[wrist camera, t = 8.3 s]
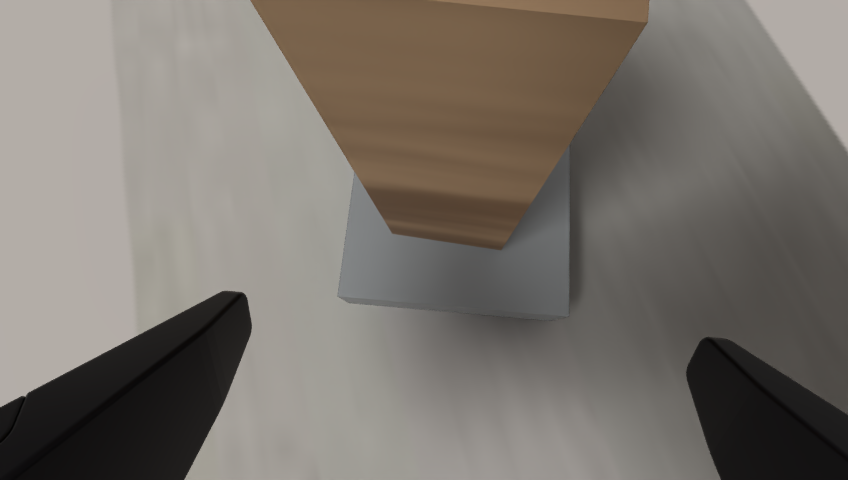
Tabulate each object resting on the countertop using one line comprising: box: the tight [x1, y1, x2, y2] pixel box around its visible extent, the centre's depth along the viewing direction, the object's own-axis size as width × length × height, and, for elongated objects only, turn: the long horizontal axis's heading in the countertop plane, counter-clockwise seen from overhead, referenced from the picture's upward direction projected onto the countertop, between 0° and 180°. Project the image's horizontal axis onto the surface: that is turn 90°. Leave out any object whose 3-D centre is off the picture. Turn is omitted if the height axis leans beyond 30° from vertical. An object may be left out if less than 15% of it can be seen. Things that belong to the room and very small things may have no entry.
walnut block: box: [251, 0, 649, 250], centre depth 11 cm, size 4×4×13 cm
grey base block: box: [338, 144, 570, 321], centre depth 19 cm, size 9×9×3 cm
